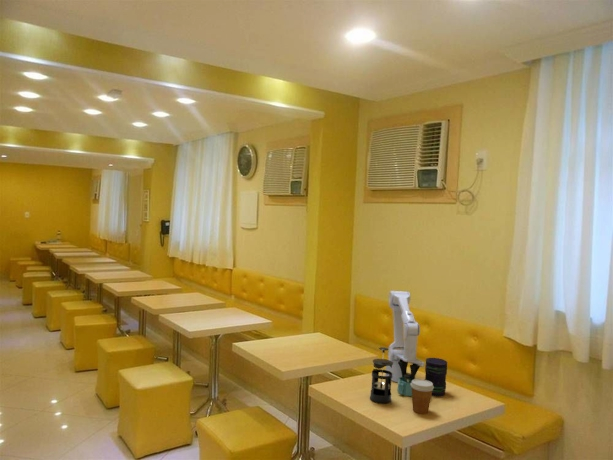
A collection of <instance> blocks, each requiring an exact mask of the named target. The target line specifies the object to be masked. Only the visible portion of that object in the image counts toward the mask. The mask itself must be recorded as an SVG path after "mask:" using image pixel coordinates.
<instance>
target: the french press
mask: <svg viewBox="0 0 613 460" xmlns="http://www.w3.org/2000/svg"><path fill="white" fill-rule="evenodd" d="M378 349H379V350H380V351H382V358H375V359H372V363H373V364H372V365H373V369H372V371H371V379H372V380H371V388H370V389H371V390H370V396H369V399H370V401H371V402H372V403H376V404H380V405H381V404H382V405H385V404H386V405H387V404H390V403H391V402H392V392H391V391H392V380H391V378H392V375H393V374H392V372H390V371H387V370H386V369H384V367H385V368H386V366H390V367H391V368H392V365H393V362H392V361H390V360H389V359H386V358H384V356H385V351H389V347H384V346H382V347H378ZM380 373H381V375H380ZM385 373H387V374H389V376H385V375H383V374H385ZM379 379H380V381H379ZM383 380H384V381H385V382H383Z"/></svg>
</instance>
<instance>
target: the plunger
mask: <svg viewBox="0 0 613 460" xmlns="http://www.w3.org/2000/svg"><path fill="white" fill-rule="evenodd" d="M404 377H405V378H407V383H409V378H411V372H406V373H404Z"/></svg>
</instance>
